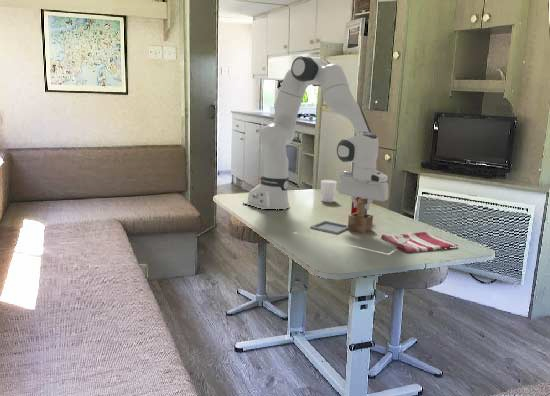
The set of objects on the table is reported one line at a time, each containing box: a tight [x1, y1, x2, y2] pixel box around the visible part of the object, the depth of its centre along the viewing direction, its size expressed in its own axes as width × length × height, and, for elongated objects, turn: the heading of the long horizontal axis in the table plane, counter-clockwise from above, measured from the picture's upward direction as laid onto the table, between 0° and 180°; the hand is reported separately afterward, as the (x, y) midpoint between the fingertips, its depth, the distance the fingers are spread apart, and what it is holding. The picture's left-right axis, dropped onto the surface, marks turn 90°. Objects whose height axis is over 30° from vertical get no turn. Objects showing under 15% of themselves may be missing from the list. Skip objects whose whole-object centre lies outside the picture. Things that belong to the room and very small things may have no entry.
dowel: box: [356, 198, 366, 218], centre depth 201 cm, size 3×3×12 cm
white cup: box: [320, 179, 338, 203], centre depth 254 cm, size 8×8×10 cm
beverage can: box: [350, 197, 368, 215], centre depth 219 cm, size 7×7×12 cm
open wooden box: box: [347, 212, 374, 234], centre depth 202 cm, size 7×7×7 cm
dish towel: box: [380, 231, 459, 254], centre depth 190 cm, size 17×23×3 cm
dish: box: [309, 220, 349, 235], centre depth 203 cm, size 12×12×1 cm
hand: (361, 208), depth 201 cm, fingers closed on dowel, 3 cm apart
